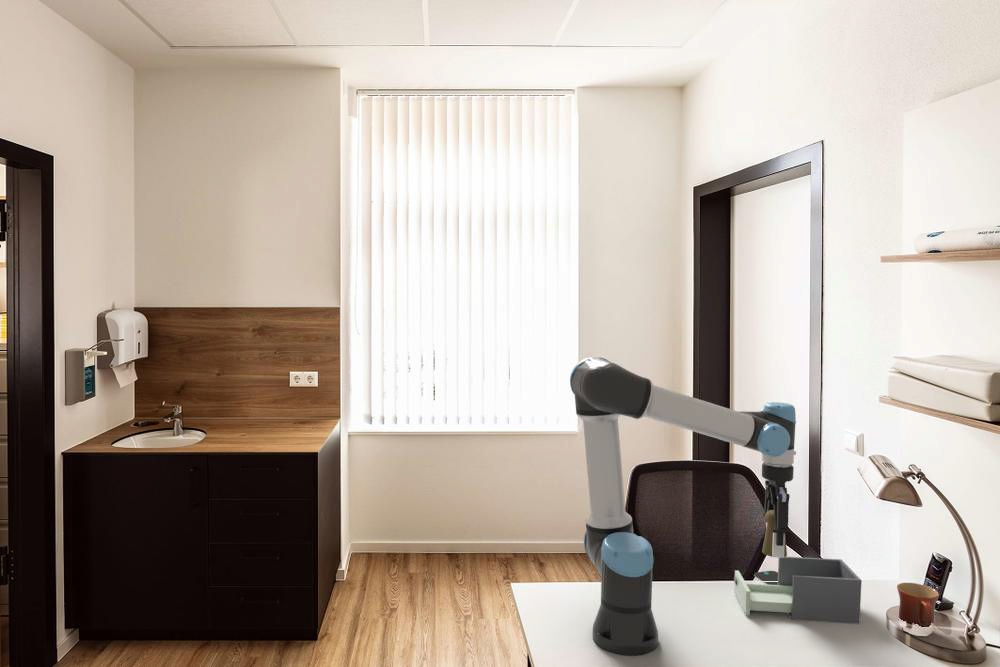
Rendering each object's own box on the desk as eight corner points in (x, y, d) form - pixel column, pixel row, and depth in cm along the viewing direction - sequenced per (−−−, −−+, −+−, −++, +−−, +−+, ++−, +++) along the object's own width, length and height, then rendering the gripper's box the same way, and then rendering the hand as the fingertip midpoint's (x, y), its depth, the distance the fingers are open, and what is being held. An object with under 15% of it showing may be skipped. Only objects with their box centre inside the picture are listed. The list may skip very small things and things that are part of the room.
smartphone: (774, 570, 207) (809, 591, 193) (774, 572, 207) (809, 594, 193) (751, 572, 205) (785, 594, 191) (751, 575, 205) (785, 597, 191)
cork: (784, 549, 186) (785, 508, 185) (789, 558, 180) (791, 515, 179) (759, 548, 187) (761, 506, 186) (764, 556, 181) (766, 514, 180)
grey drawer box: (792, 619, 177) (793, 576, 176) (777, 596, 191) (778, 556, 190) (859, 623, 175) (861, 580, 175) (839, 599, 189) (841, 559, 188)
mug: (889, 621, 177) (891, 580, 176) (928, 624, 175) (930, 584, 175) (907, 644, 165) (909, 601, 165) (948, 648, 164) (951, 605, 163)
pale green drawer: (743, 614, 179) (744, 591, 178) (732, 592, 192) (733, 570, 191) (806, 618, 177) (807, 594, 176) (790, 595, 190) (791, 573, 190)
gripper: (804, 473, 172) (800, 567, 173) (782, 455, 191) (779, 539, 192) (772, 472, 173) (769, 565, 174) (753, 454, 192) (750, 538, 193)
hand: (774, 551), depth 183 cm, fingers closed on cork, 6 cm apart
